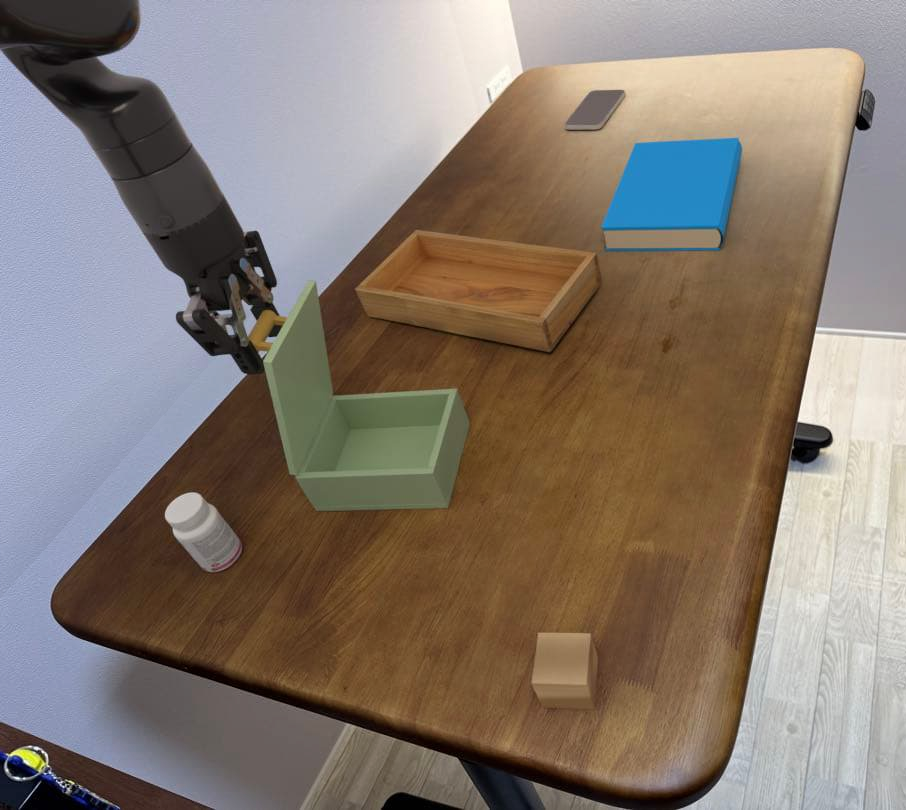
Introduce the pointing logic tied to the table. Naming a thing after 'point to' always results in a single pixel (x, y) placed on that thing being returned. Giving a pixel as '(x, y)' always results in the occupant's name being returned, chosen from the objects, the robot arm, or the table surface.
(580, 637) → the block
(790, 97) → the table surface
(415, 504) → the green box
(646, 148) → the book
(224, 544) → the pill bottle
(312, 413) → the cover
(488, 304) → the tray
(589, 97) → the smartphone
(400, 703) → the table surface
